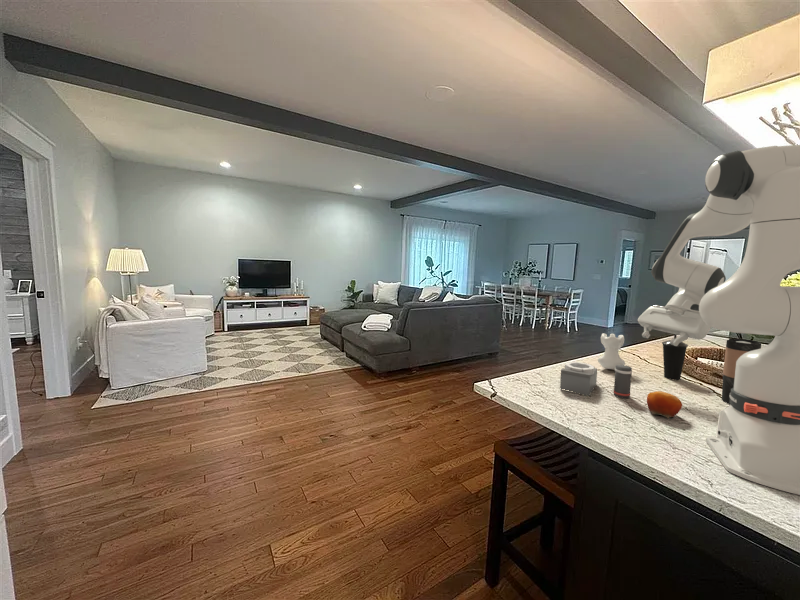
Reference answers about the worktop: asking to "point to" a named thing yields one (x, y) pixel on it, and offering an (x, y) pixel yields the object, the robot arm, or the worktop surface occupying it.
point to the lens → (622, 381)
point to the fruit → (663, 404)
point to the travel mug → (734, 362)
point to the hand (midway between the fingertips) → (658, 340)
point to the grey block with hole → (578, 377)
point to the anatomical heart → (611, 351)
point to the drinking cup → (673, 359)
